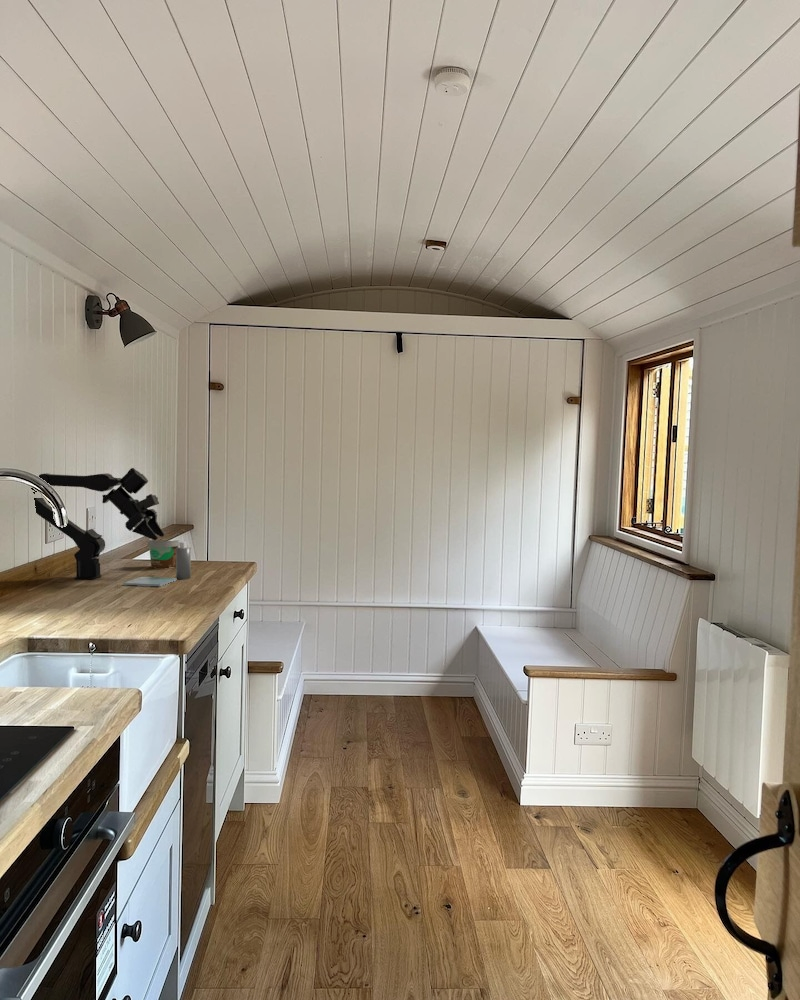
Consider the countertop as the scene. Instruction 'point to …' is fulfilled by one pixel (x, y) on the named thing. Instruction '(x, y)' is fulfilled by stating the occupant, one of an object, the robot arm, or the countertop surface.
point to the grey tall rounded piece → (183, 561)
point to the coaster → (150, 581)
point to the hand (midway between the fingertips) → (160, 537)
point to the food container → (163, 553)
